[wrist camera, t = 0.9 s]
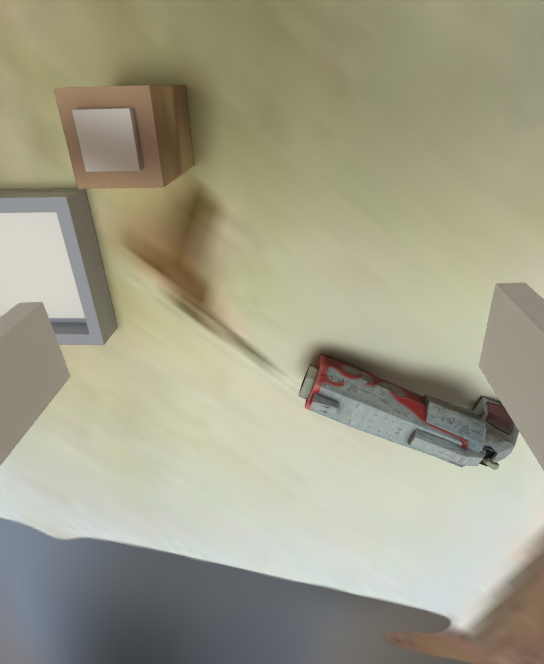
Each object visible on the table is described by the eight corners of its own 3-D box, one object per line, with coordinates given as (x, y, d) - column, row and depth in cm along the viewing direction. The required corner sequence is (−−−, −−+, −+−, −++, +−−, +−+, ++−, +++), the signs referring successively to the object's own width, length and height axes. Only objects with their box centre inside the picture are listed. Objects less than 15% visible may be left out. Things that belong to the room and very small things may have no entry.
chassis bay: (-67, 190, 33) (-98, 199, 31) (85, 188, 32) (66, 196, 30) (-12, 326, 39) (-34, 343, 36) (117, 327, 38) (104, 345, 36)
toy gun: (323, 322, 41) (306, 378, 32) (526, 398, 40) (565, 477, 31) (308, 359, 43) (288, 421, 34) (500, 432, 42) (530, 516, 33)
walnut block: (112, 87, 29) (47, 88, 22) (185, 85, 29) (145, 85, 21) (126, 166, 31) (72, 191, 24) (194, 164, 31) (160, 189, 24)
